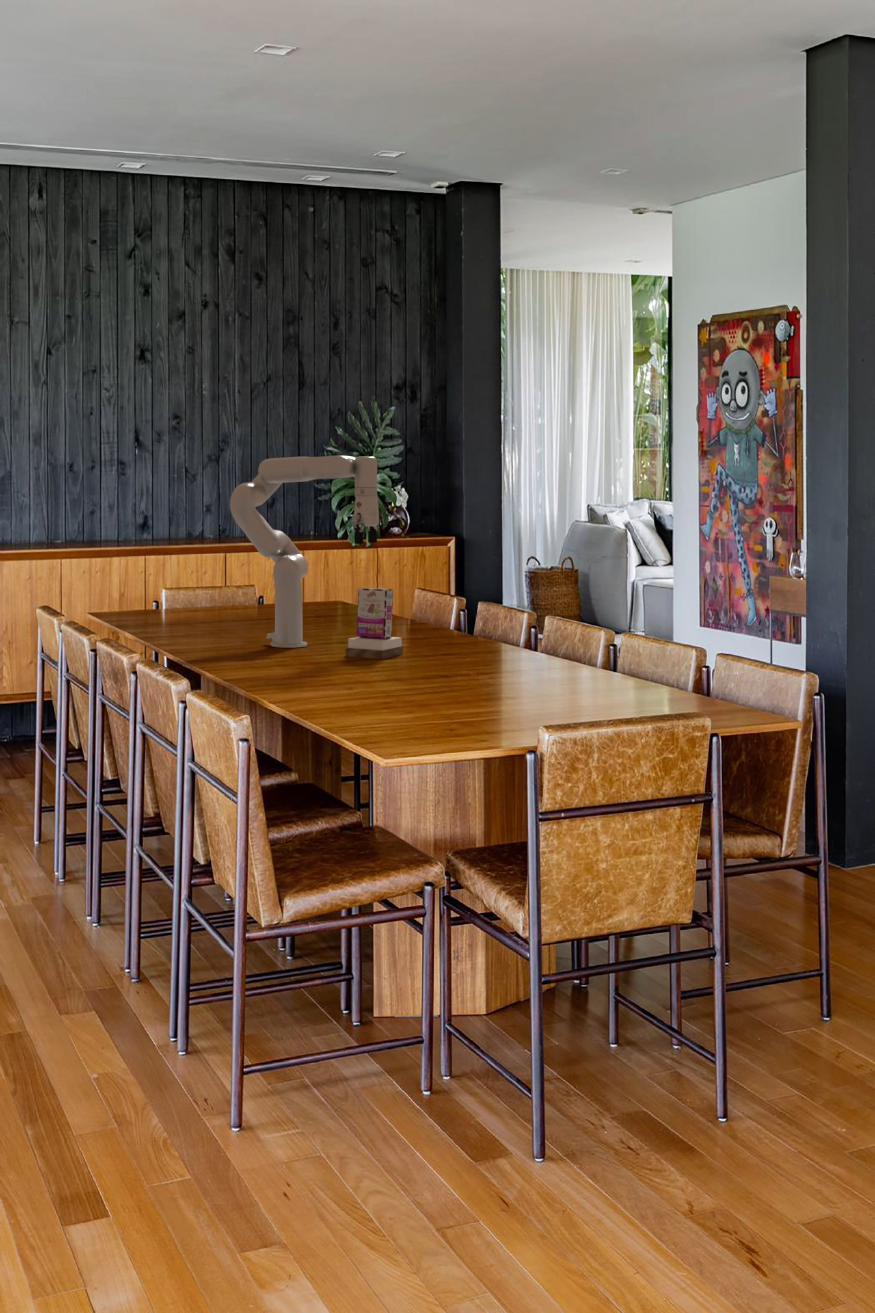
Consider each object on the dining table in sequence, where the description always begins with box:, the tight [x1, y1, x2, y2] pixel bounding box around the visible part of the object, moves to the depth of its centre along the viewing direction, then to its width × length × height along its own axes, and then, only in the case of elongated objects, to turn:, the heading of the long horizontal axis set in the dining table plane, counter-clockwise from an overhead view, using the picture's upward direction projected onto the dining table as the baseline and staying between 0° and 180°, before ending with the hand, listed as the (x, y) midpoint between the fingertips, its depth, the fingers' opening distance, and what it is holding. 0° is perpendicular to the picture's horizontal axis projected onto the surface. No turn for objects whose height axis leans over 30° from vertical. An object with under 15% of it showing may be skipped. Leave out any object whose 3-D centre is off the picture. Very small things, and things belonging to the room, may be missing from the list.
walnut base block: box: [345, 645, 404, 660], centre depth 472 cm, size 14×14×4 cm
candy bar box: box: [356, 587, 394, 639], centre depth 471 cm, size 11×5×16 cm, turn 61°
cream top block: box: [347, 636, 403, 650], centre depth 472 cm, size 13×13×3 cm
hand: (365, 543), depth 485 cm, fingers open, 9 cm apart
